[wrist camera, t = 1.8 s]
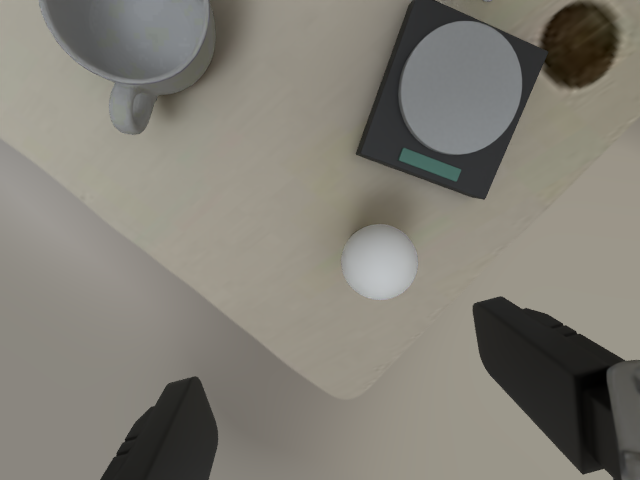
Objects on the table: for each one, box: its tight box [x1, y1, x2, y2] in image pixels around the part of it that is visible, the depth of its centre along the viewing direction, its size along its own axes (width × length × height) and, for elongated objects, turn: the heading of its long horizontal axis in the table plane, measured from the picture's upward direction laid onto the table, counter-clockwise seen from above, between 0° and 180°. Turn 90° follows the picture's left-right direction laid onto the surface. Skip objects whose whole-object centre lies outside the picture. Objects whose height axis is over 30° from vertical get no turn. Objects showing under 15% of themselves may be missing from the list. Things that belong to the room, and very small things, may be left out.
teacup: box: [39, 0, 216, 135], centre depth 27 cm, size 14×11×8 cm
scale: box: [356, 0, 548, 199], centre depth 33 cm, size 13×14×3 cm
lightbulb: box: [341, 224, 418, 300], centre depth 31 cm, size 6×6×11 cm
